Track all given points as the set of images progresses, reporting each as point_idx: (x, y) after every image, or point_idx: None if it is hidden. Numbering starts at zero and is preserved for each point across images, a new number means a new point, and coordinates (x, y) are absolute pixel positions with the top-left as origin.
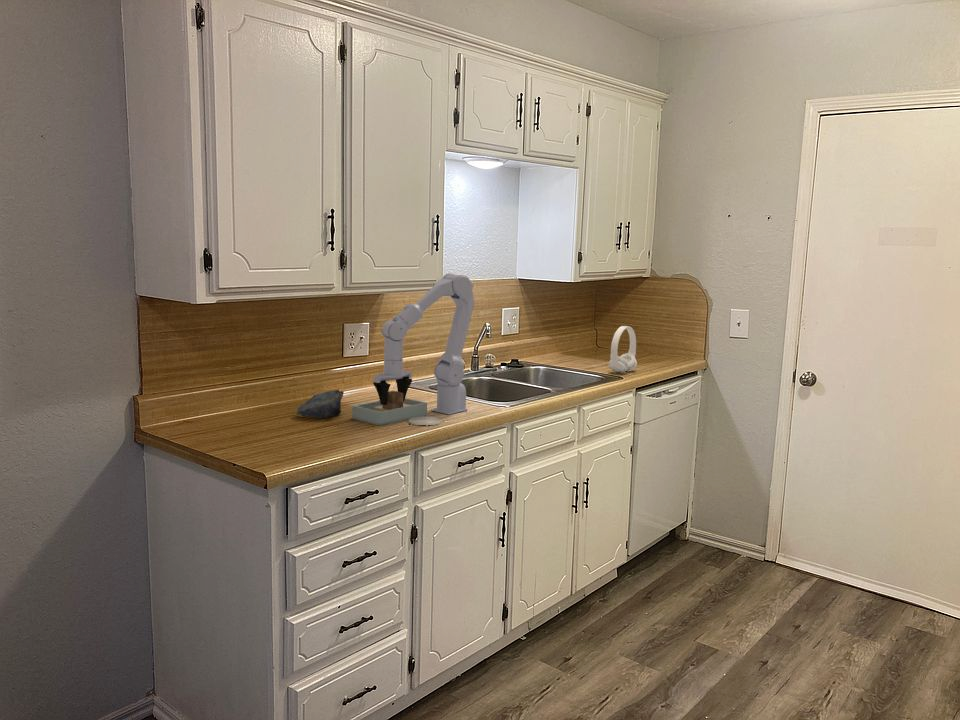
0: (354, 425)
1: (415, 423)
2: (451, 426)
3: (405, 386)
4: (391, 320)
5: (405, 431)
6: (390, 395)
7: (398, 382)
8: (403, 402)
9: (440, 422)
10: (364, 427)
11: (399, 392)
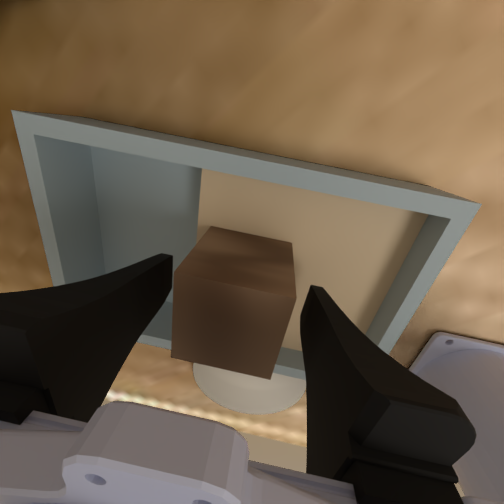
0: (26, 209)
1: (193, 371)
2: (252, 432)
3: (308, 424)
4: None
5: (121, 370)
6: (175, 334)
7: (342, 393)
8: (412, 246)
9: (258, 412)
10: (44, 257)
11: (265, 359)
